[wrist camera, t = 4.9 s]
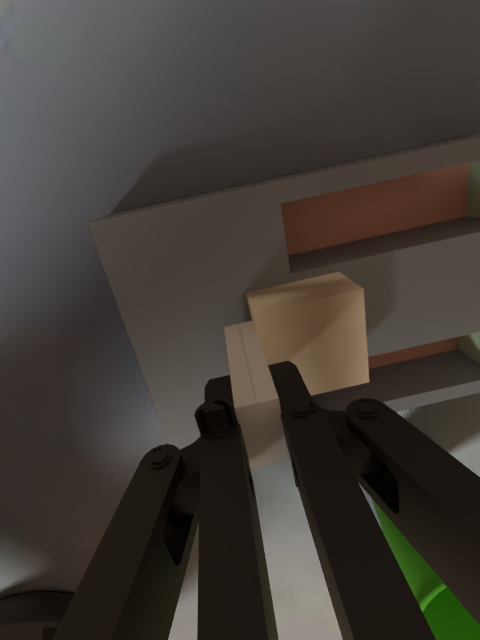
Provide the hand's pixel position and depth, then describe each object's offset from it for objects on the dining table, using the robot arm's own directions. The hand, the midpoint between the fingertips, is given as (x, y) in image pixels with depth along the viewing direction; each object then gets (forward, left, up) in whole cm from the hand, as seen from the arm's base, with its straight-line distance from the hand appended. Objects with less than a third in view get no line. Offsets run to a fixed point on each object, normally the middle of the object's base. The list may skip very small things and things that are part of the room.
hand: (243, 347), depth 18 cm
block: (+3, 0, -1) cm, 3 cm away
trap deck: (+8, 0, -5) cm, 10 cm away
